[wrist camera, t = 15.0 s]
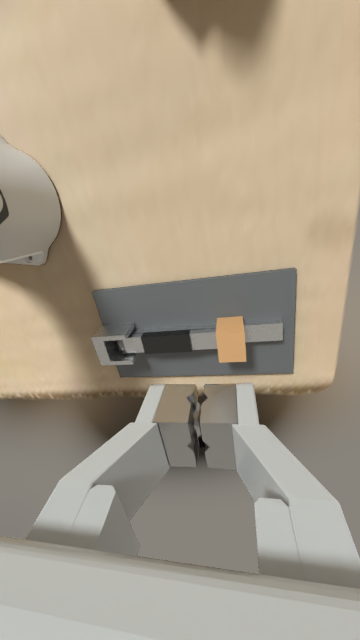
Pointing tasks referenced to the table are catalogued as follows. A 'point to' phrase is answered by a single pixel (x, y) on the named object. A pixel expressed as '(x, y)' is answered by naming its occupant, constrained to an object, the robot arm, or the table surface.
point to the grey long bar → (110, 333)
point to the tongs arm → (169, 341)
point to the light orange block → (231, 339)
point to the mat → (207, 320)
